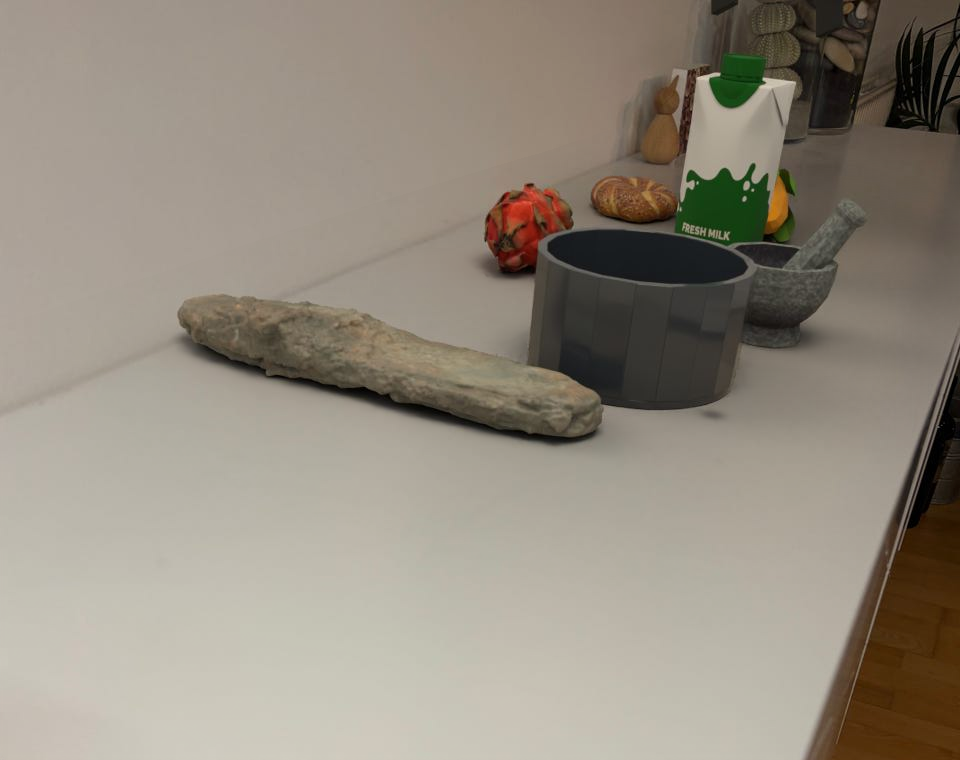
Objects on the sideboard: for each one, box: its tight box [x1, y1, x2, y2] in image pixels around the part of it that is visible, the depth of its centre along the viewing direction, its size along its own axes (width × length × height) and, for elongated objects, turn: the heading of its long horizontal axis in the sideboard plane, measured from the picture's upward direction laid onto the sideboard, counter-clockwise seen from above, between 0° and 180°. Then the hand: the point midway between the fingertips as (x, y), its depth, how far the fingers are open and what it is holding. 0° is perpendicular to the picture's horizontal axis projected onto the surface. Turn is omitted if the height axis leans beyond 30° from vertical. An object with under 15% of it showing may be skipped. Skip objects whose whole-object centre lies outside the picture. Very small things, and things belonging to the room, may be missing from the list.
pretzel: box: [590, 175, 679, 223], centre depth 133 cm, size 12×11×4 cm
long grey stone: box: [177, 293, 605, 438], centre depth 79 cm, size 35×5×10 cm
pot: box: [527, 226, 758, 410], centre depth 84 cm, size 16×16×9 cm
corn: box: [764, 167, 797, 243], centre depth 126 cm, size 7×8×20 cm
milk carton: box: [673, 52, 797, 246], centre depth 109 cm, size 9×9×20 cm
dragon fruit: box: [483, 182, 575, 273], centre depth 107 cm, size 8×8×12 cm
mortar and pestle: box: [727, 198, 868, 349], centre depth 93 cm, size 11×9×12 cm
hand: (778, 22), depth 102 cm, fingers open, 13 cm apart
